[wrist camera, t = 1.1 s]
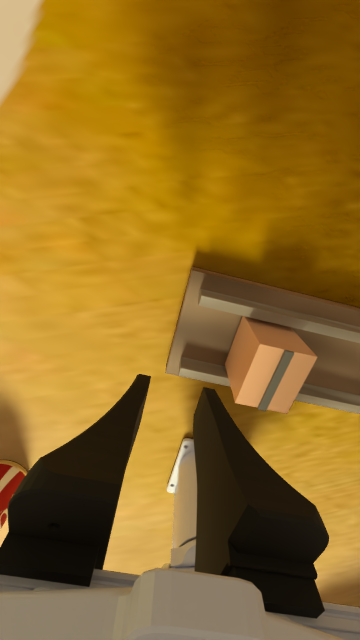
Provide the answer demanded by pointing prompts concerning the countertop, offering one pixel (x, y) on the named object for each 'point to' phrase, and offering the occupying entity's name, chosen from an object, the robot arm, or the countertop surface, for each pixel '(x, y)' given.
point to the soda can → (8, 485)
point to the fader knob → (267, 365)
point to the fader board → (276, 307)
